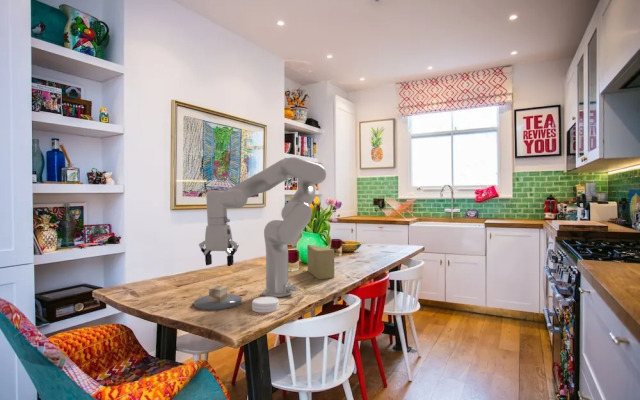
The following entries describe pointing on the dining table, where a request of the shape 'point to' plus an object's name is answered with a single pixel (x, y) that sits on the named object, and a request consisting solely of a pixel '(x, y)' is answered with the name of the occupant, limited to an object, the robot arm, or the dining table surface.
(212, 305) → the cake plate
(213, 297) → the wooden cube
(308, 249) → the cheese
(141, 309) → the dining table surface
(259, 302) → the coaster
